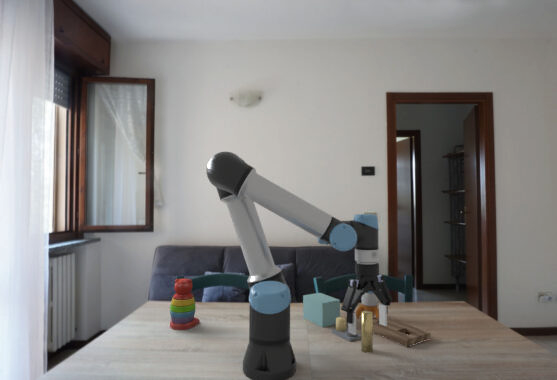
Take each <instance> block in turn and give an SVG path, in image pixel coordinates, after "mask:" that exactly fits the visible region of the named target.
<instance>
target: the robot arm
mask: <svg viewBox="0 0 557 380" xmlns="http://www.w3.org/2000/svg"><path fill="white" fill-rule="evenodd" d="M205 170H206V177H207V180H209V182H210V184H211V185H212V186H213V187H215V189H216V192H217V194H218V197H219V200H220V202H222V203H224V204H226V207H227V209H228V212H229V215H230V218H231V222H232V224H233V227H234V230H235V233H236V236H237V239H238V242H239V246H240V248H241V252H242V254H243V258H244V260H245V261H244V262H245V263H246V266H247V270H248V272H249V276H248V278H247V280H246V282H247V284H248V288H249V295H248V302H249V303H248V304H249V313H248V314H249V317H248V318H249V319H248V320H249V321H248V322H249V331H248V333H249V334H248V335H249V336H248V344H247V346H246V350H245V352H244V355H243V360H242V372H243V374H244V375H245V376H246V377H247V378H250V379H251V380H287V379H288V378H291V377H292V376H293V375H294V374H295V373H296V372H297V359H296V355H295V352H294V350H293V347H292V343H291V301H292V295H291V289H290V287H289V285H288V284H287V281H286V280H285V276H284V274H283V271H282V268H281V267H278V266H277V265H276V264H275V261H274V258H273V255H272V253H271V249H270V247H269V243H268V241H267V237H266V234H265V232H264V228H263V227H262V226H263V225H262V222H261V219H260V216H259V213H258V211H257V207H256V205H255V204H257V205H259V206H261V207H263V208H264V209H266V210H268V211H269V212H271V213H274V214H275V215H277V217H280V218H282V219H284V220H285V221H288V222H289V223H290V224H293V225H295V226H296V227H298V228H300V229H301V230H303V231H305V232H306V233H309V234H310V235H312V236H314V237H315V238H317V242H318V244H320V245H326V246H331V247H333V249H335V250H337V251H338V252H339V251H340V252H347V251H350V250H352V249H353V248H354V261H355V263H354V269H355V270H354V272H355V274H356V279H351V278H350V279H348V287H347V290H346V293H345V296H344V298H343V301H342V305H341V306H340V311H343V312H345V313H346V323H347V325H348V327H347V329H348V332H349V333H351V334H354V335H356V333H357V318H356V311H355V310H357V309H356V308H358V305H359V302H361V297H362V295H364V294H365V292H366V293H367V292H369V291H371V292H372V291H373V292H374V294H375V295H376V297H377V298H378V299H379V301H378V302H380V303H378V309H379V324H381V325H384V326H387V317H388V313H389V312H388V311H389V310H388V309H389V307H390V306H391V303H392V302H393V297H392V295H391V292H390V290H389V288H388V287H389V286H387V283H386V276H385V275H383V274H380V264H379V261H380V257H379V255H380V254H379V253H380V252H379V250H380V248H379V229H380V228H379V219H378V216H377V214H374V213H361V214H360V213H357V214H354V217H353V219H352V220H340V219H338V218H336V217H334V216H332V215H331V214H329V213H327V212H326V211H324V210H322V209H320V208H319V207H317V206H316V205H313V204H311V203H310V202H308V201H306V200H305V199H303V198H301V197H299V196H297V195H296V194H293V193H292V192H290V191H288V190H287V189H285V188H284V187H282V186H280V185H278V184H276V183H274V182H273V181H271V180H269V179H267V178H265V177H264V176H262V175H260V174H259V173H257V170H256V168H255V167H253V166H252V165H250V164H249V163H247V162H246V161H245V160H244V159H243V158H242V157H240V156H239V155H238V154H235V153H234V152H231V151H220V152H217V153H215V154H214V155H213V156H212V157H211V158H210V159H209V160H208V162H207V164H206V169H205Z"/></svg>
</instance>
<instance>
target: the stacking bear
mask: <svg viewBox="0 0 557 380" xmlns="http://www.w3.org/2000/svg"><path fill="white" fill-rule="evenodd" d="M192 290H193V280H192V279H191V278H176V279H175V280H174V292H175V294H173V296H172V299H171V301H170V306H169V313H170V314H169V315H170V322H169V327H170V328H171V329H173V330H176V331H177V330H178V331H180V330H181V331H182V330H189V329H192V328H195V327H196V326H198V325H199V323H201V322H200V319H199V318H198V317H195V314H196V308H197V307H196V301H195V298H194V294H193V293H192Z"/></svg>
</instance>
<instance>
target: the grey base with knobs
mask: <svg viewBox="0 0 557 380" xmlns="http://www.w3.org/2000/svg"><path fill="white" fill-rule="evenodd" d="M346 324H347V317H346V318H345V317H343V316H340V317H337V318H336V324H335V328H333V329H331V333H332V334H334V335H335V336H338V337H339V338H342V339H343V340H346V341H348V342H352V340H354V341H357V340H361V339H360V338H361V334H359V333H358V332H356V335H354V334H351V333H349V332H348V327H347V328H346ZM356 339H357V340H356Z"/></svg>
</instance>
